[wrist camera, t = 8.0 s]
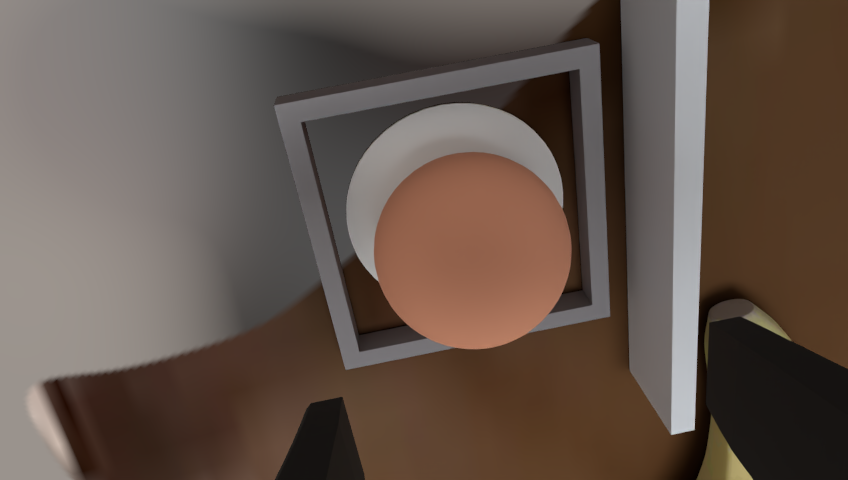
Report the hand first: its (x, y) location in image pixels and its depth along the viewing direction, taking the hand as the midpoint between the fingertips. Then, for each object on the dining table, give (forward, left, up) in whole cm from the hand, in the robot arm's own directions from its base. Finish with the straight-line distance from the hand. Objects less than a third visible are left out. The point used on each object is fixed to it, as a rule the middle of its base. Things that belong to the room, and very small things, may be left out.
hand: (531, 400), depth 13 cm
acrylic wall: (-4, +4, -9) cm, 11 cm away
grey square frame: (0, 0, -9) cm, 9 cm away
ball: (0, 0, -6) cm, 6 cm away
